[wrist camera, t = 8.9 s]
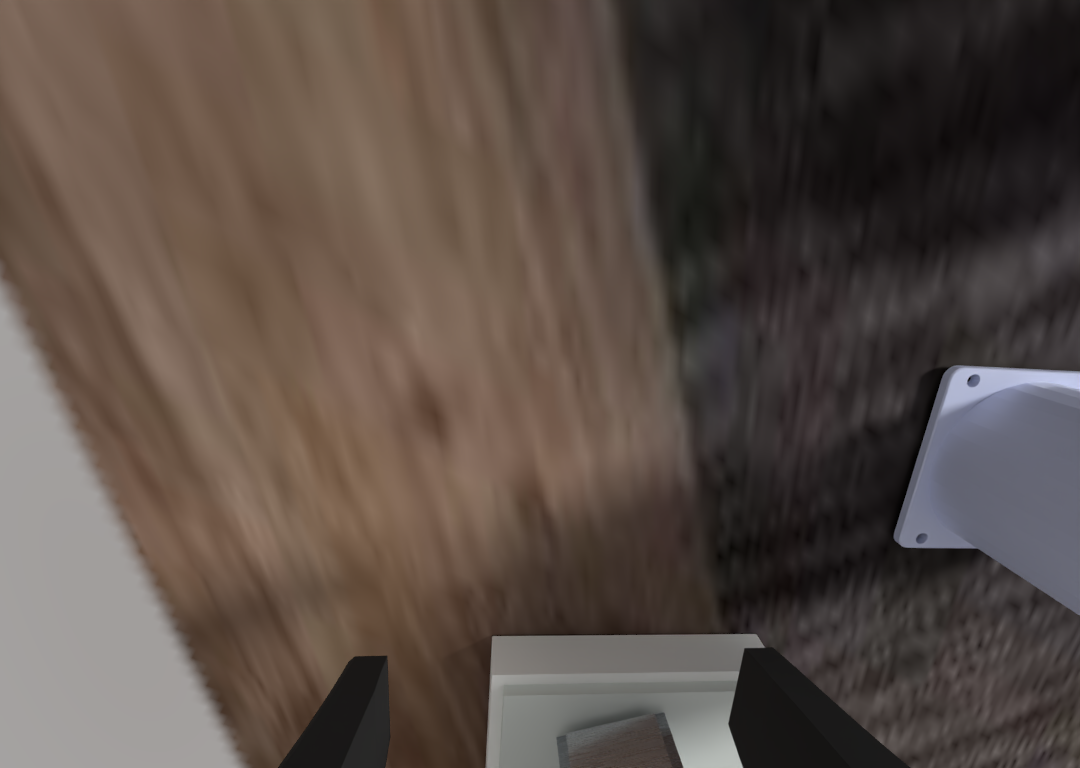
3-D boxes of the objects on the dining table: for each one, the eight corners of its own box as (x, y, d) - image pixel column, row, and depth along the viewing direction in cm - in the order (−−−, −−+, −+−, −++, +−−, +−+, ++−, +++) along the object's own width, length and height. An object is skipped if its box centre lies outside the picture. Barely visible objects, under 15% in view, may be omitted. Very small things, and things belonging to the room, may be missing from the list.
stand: (756, 634, 23) (786, 680, 20) (712, 820, 26) (733, 879, 24) (492, 636, 22) (491, 686, 19) (482, 831, 25) (480, 893, 23)
